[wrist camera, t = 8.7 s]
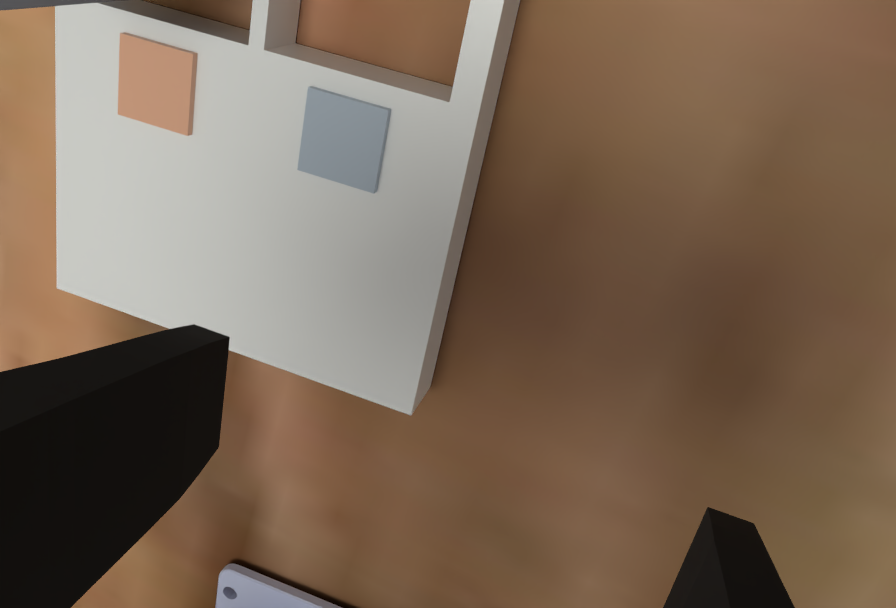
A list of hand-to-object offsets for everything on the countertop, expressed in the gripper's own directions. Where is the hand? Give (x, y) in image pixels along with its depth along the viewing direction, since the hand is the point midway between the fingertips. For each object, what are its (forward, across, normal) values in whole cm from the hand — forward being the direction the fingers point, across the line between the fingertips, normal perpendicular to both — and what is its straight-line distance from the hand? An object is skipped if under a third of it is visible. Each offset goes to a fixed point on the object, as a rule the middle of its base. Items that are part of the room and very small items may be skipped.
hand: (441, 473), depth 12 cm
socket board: (+10, +8, -2) cm, 13 cm away
